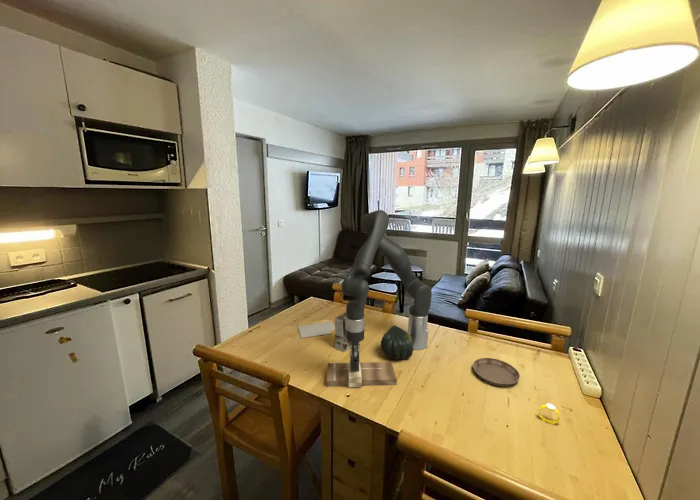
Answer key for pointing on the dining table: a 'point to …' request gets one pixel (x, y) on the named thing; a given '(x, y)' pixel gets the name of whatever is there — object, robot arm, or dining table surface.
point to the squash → (397, 344)
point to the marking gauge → (354, 375)
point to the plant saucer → (496, 371)
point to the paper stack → (316, 329)
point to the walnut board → (370, 374)
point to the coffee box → (341, 333)
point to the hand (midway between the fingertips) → (354, 365)
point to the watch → (552, 408)
